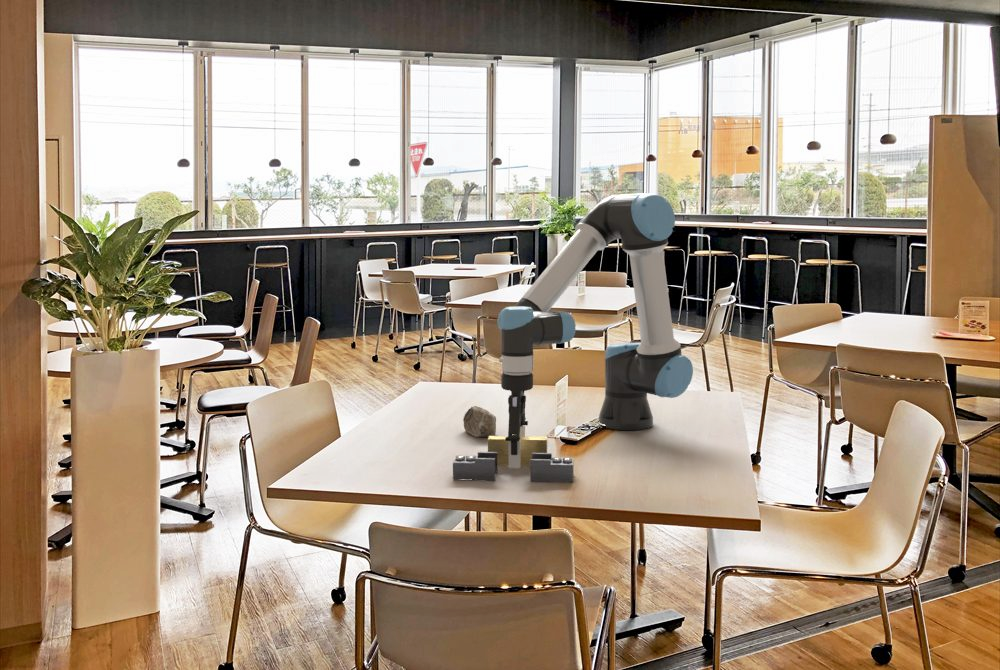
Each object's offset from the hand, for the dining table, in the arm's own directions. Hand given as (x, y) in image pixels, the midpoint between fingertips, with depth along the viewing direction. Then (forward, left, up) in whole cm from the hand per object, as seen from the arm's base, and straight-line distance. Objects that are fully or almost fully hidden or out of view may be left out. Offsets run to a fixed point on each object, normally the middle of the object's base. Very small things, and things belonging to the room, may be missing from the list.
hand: (517, 459), depth 214 cm
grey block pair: (0, +11, -1) cm, 11 cm away
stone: (+13, -28, -1) cm, 31 cm away
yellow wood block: (0, 0, -1) cm, 1 cm away
